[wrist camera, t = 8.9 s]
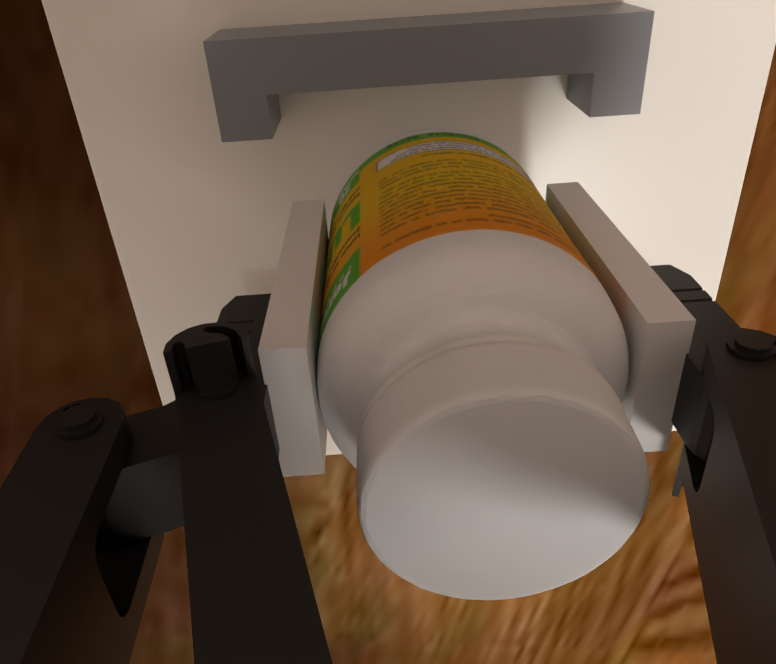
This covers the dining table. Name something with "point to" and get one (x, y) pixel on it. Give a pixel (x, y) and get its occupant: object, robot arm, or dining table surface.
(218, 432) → the robot arm
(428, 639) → the dining table surface
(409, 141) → the supplement bottle
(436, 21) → the bottle holder
